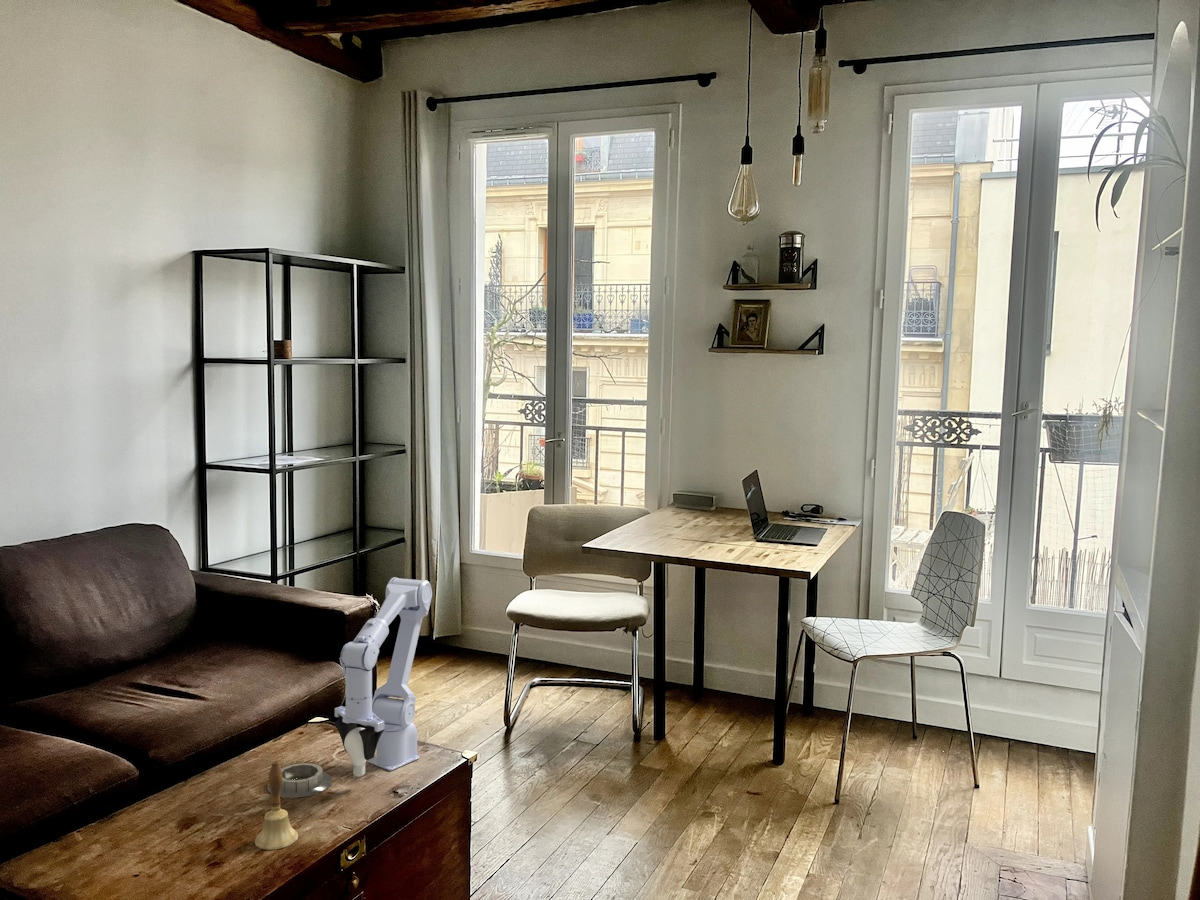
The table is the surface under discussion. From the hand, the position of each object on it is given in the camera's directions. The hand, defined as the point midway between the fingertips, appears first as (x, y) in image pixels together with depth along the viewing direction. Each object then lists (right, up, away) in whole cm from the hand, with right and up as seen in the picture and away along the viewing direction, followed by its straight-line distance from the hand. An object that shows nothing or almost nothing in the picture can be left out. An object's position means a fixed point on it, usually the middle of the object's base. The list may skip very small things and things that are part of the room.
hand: (359, 754), depth 210 cm
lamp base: (-14, -8, +2) cm, 16 cm away
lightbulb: (0, -5, 0) cm, 5 cm away
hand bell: (-11, -10, -22) cm, 27 cm away
